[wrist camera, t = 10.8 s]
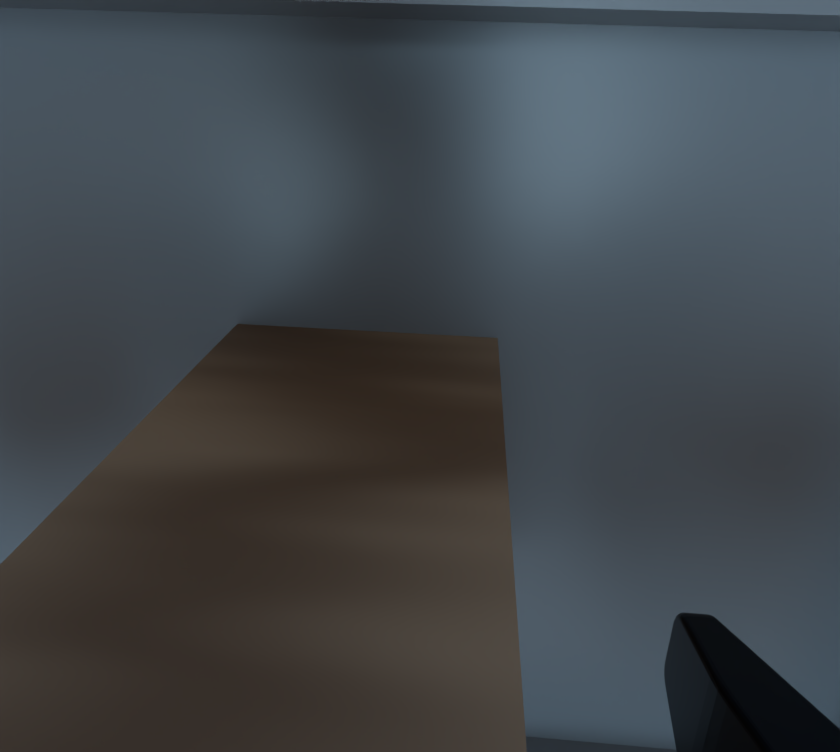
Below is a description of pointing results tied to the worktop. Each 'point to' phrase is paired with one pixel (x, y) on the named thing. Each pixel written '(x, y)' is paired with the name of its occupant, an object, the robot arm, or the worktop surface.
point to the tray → (469, 281)
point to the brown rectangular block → (281, 562)
